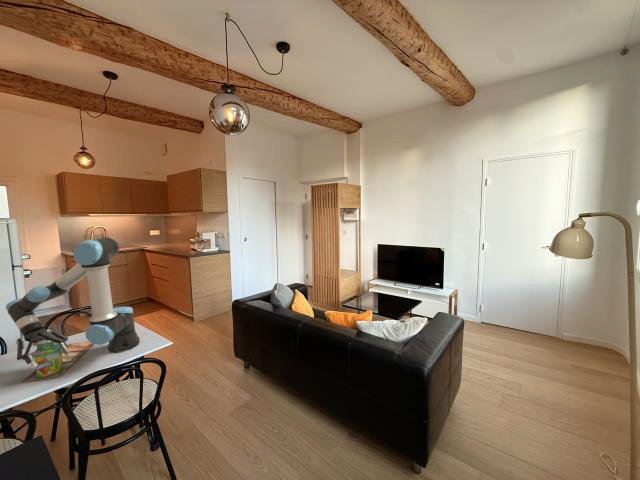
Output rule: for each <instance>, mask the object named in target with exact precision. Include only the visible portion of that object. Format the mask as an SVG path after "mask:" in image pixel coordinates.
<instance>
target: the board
mask: <svg viewBox="0 0 640 480" xmlns="http://www.w3.org/2000/svg"><path fill="white" fill-rule="evenodd" d="M67 345H68V347H67V349H68V351H69V353H68V355H65V354H64V352H63V351H62V349H61V353H62V362H63V364H69V365H68V366H67V367H65V368H63V371H62V372H59V374H58V375H53V376H46V377H42V378H37V377H36V378H31V377H33V376H34V375H35V374H37V373H36V369H34V370H33V372H31V373H30V374H29V375H27V376H26V377H25V378H24V379H22V380H21V384H22V383H30V382H37V381H39V382H40V381H45V380H52V379H59V378H61V376H63V374H64V373H66V372H67V371H68V370H69V369H70V368H71V367H72V366H73V365H74V364H76V363H77V362H78V361H79V360H80V359H81V358H82V357H83V356H84V355H86V353H87V352H89V351H90V350H91V349H92V348H93V347H94V346H95V345H96V344H93V343H92V342H90V341H83V342H74V343H68V344H67Z"/></svg>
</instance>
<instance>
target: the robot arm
mask: <svg viewBox="0 0 640 480" xmlns="http://www.w3.org/2000/svg"><path fill="white" fill-rule="evenodd" d="M72 252H73V253H72V254H73V258H74V260H75V262H77V264H75V265H73V267H71V268H70V269H69V270H67V271H65V273H64V274H63V275H61V276H60V277H59V278H57V279H56V280H55V281H54V282H52V283H51V284H49V285H46V286H43V285H41V286H40V285H37V286H34V287H32V288H31V289H29V291H28V292H27V293H26V294H25V295H24V296H23V297H22V298H16V299H13V300H11V301H9V302H7V304H6V305H5V309H6V311H7V314H8V315H9V316H10V319H12V321H13V322H14V323H15V325H16V327H17V329H18V330H19V332H20V334H21V335H22V338H17V339H16V342H15V344H16V345H17V350H16V352H17V354H16V360H17V361H19V360H23V361H24V362H25V364H26V365H29V364H30V366H31V367H32V369H33V370H36V367H37V364H36V362H35V358H33V356H32V355H31V354H29V353H30V351H31V348H32V346H33V344H37V343H39V342H40V341H42V340H49V341H53V342H55V343H59V344H60V345H61V350H62V351H63V352H64V354H65V355H68V353H69V351H68V349H67V347H68V344H67V343H66V342H67V341H68V340H69V337H68V336H66V335H65V334H63V333H61V332H60V331H58V330H56V329H55V327H54V326H52V327H50V328H49V329H45V328H44V326H43V324H42V323H41V322H40V319H39V318H38V317H37V315H36V314H35V312H34V311H35V310H36V309H37V308H38V307H39V306H40V305H41V304H44V303H46V302H48V301H51V300H53V299H56V298H58V297H61V296H64V295H65V294H67V293H69V292H70V290H71V288H72V287H74V286H75V285H76V284H78V283H79V282H80V281H81V280H83V279H84V278H85V277H86V279H87V287H88V294H89V299H90V300H89V301H90V307H91V313H92V315H91V317H90V318H89V320H88V321H89V326H88V327H87V328H86V331H85V332H84V333H85V338H86V339H87V341H88V342H92V343H93V344H95V345H98V346H99V345H101V346H102V345H105V344H107V343H108V345H107V351H109V352H110V353H121V352H126V351H129V350H132V349H134V348H136V347H137V346H138V345H140V342H141V341H140V336H138V333H137V331H136V326H135V325H136V324H135V317H134V315H135V314H134V309H133V307H131V306H119V307H114V305H113V299H112V291H111V285H110V277H109V276H110V275H109V271H108V270H109V269H108V268H109V266H110V265H111V260H112V259H113V258H114V257H116V256H117V255H118V254H119V252H120V245H119V243H118V241H117V240H115V239H114V238H111V237H106V236H105V237H104V236H103V237H100V238H99V237H98V238H95V239H87V240H84V241H81V242H80V243H78V244H77V245H76V246H75V247H74V249H73V251H72ZM25 341H26V342H28V344H27V347H26V348H25V352H24V354H23V345H24V342H25Z"/></svg>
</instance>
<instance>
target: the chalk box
mask: <svg viewBox="0 0 640 480" xmlns="http://www.w3.org/2000/svg"><path fill="white" fill-rule="evenodd" d="M46 345H50V346H48V347H44V346H46ZM40 348H41V349H37V348H36V349H35V350H34V351H35V352H34V353H35V354H34V361H35V362H36V364H37V367H36V369H35V370H36V373H35V374H36V379H37V378H44V377H50V376H51V375H55V374H58V373H59V374H60V373H61V372H62V371H63V370H64V363H63V362H62V353H61V350H62V349H61V345H60V344H56V345H54V342H53V341H52V342H48V343H44V344H41V345H40Z"/></svg>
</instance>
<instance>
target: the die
mask: <svg viewBox="0 0 640 480" xmlns="http://www.w3.org/2000/svg"><path fill="white" fill-rule="evenodd" d="M48 342H52V341H49V340H42V341H38V342H37V343H35V345H36V350H37V349H41V348H40V345H41V344H44V343H48ZM56 344H59V343H55V342H54V345H56ZM48 346H50V345H46V346H44V347H48Z"/></svg>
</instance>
